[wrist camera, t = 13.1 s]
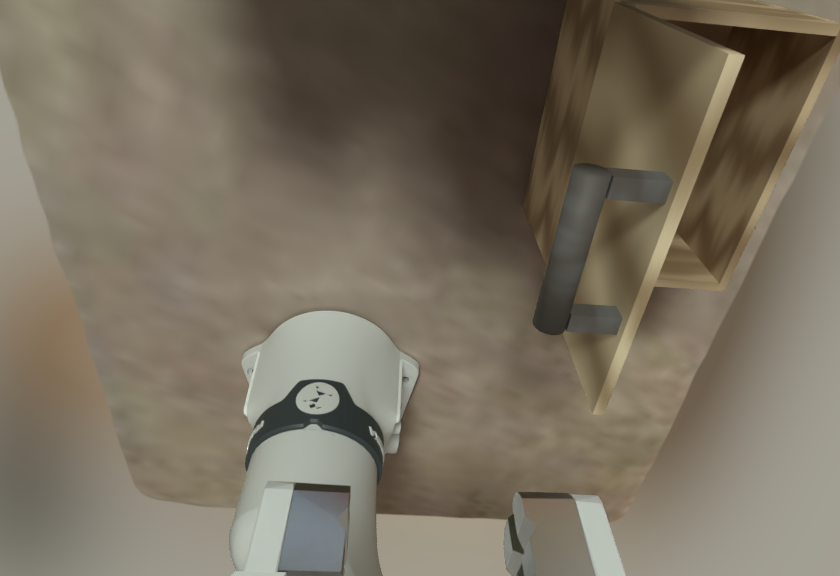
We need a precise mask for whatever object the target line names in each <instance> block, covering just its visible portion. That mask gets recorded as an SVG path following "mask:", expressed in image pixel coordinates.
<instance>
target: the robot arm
mask: <svg viewBox="0 0 840 576" xmlns="http://www.w3.org/2000/svg"><path fill="white" fill-rule="evenodd" d="M242 367H243V370H244V372H245V375H246V378H247V380H248V383H249V389H248V393H247V397H246V401H245V406H244V415H246V416H247V418H248V421H249V424H250V426H251V428H252V429H253V432H252V434H251V436H250V439H249V442H248V446H247V455H246V462H245V467H246V471H247V473H246V477H245V480H244V484H243V487H242V491H241V494H240V498H239V501H238V505H237V508H236V512H235V515H234V519H233V523H232V526H231V529H230V534H229V548H230V553H231V557H232V560H233V564H234V566H235V569H236V570H235V571H234V572H233V573H232V574H231V575H230V576H382V573H381V569H380V564H379V559H378V553H377V538H376V489H377V485H378V484H379V481H380V479H381V475H382V470H383V466H384V456H385V455H386V454H387V453H391V454H394V453H396V452H397V449H398V445H399V433H400V430H401V418H402V416H403V413H404V411H405V408H406V405H407V403H408V400H409V398H410V395H411V393H412V390H413V388H414V385H415V383H416V380H417V378H418V375H419V364H418V362H417V361H415V360H414V359H413V358H411V357H410V356H408V355H406V354H404V353H403V352H401V351H399V350H398V349H397V347H396V346H395V345H394V344H393V342H392V341H391V340H390V338H389V337H388V336H387V335H386V334H385V333H384V332H383V331H382V330H381V329H380V328H378V327H377V326H376V325H374V324H373V323H371V322H369V321H367V320H365V319H363V318H361V317H358V316H356V315H353V314H349V313H344V312H338V311H315V312H309V313H305V314H301V315H298V316H296V317H293V318H291V319H289V320H287V321H286V322H284V323H283V324H281V325H280V326H279V327H278V328H277V329H276V330H275V331H274V332H273V333H272V334H271V335H270V337H269V338H268V339H267V340H266V341H265V342H264V343H262V344H260V345H258V346H255V347H253V348H251V349H249V350H248V351H246V352H245V353H244V354H243V358H242ZM403 377H408V378H403ZM512 507H513V513H514V514H512V515H511V516H509V517H508V518H507V522H506V526H505V533H504V553H505V563H506V569H507V571H508V572H509V573H510V574H511V576H626V573H625V570H624V567H623V564H622V561H621V558H620V555H619V552H618V549H617V546H616V543H615V540H614V537H613V534H612V531H611V528H610V525H609V522H608V519H607V516H606V513H605V510H604V507H603V504H602V501H601V500H600V498H599V497H598V496H596V495H583V494H568V493H541V492H517V493H516V494H515V495H514V498H513V501H512Z"/></svg>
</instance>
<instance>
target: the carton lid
mask: <svg viewBox="0 0 840 576" xmlns="http://www.w3.org/2000/svg"><path fill="white" fill-rule="evenodd" d="M744 57H745V55H743V54H741V53H739V52H736V51H734V50H732V49H729V48H727V47H725V46H722V45H720V44H718V43H716V42H713V41H711V40H709V39H706V38H704V37H702V36H700V35H697V34H695V33H693V32H690V31H688V30H686V29H683V28H681V27H679V26H677V25H674V24H672V23H670V22H667V21H665V20H663V19H661V18H658V17H656V16H654V15H651V14H649V13H647V12H644V11H642V10H640V9H638V8H635V7H633V6H631V5H628V4H626V3H620V2H614V5H613V8H612V12H611V16H610V20H609V24H608V28H607V32H606V36H605V40H604V43H603V47H602V51H601V55H600V59H599V63H598V67H597V71H596V75H595V79H594V82H593V86H592V90H591V94H590V98H589V102H588V106H587V110H586V114H585V117H584V121H583V125H582V129H581V133H580V137H579V141H578V145H577V149H576V152H575V156H574V160H573V164H572V168H571V172H570V176H569V180H568V184H567V187H566V191H565V195H564V199H563V203H562V207H561V211H560V215H559V219H558V223H557V226H556V230H555V234H554V238H553V242H552V246H551V250H550V254H549V258H548V261H547V265H546V269H545V273H544V277H543V283H542V287H541V291H540V295H539V299H538V303H537V307H536V311H535V314H534V318H533V325H534V326H535V328H536V329H538V330H539V331H541V332H543V333H545V334H549V335H559V334H561V333H563V336H564V338H565V341H566V344H567V347H568V349H569V352H570V355H571V357H572V360H573V363H574V365H575V368H576V371H577V374H578V376H579V379H580V382H581V384H582V387H583V390H584V393H585V395H586V398H587V401H588V403H589V406H590V409H591V411H592V414H597V415H604V412H605V410H606V407H607V405H608V402H609V400H610V397H611V395H612V392H613V390H614V387H615V385H616V382H617V379H618V377H619V374H620V372H621V369H622V367H623V364H624V362H625V359H626V357H627V354H628V352H629V349H630V347H631V344H632V341H633V339H634V336H635V334H636V331H637V329H638V326H639V324H640V321H641V319H642V316H643V314H644V311H645V308H646V306H647V303H648V301H649V298H650V296H651V293H652V291H653V288H654V286H655V283H656V281H657V278H658V276H659V273H660V270H661V268H662V265H663V263H664V260H665V258H666V255H667V253H668V250H669V248H670V245H671V243H672V240H673V237H674V235H675V232H676V230H677V227H678V225H679V222H680V220H681V217H682V215H683V212H684V210H685V207H686V205H687V202H688V199H689V197H690V194H691V192H692V189H693V187H694V184H695V182H696V179H697V177H698V174H699V172H700V169H701V166H702V164H703V161H704V159H705V156H706V154H707V151H708V149H709V146H710V144H711V141H712V139H713V136H714V134H715V131H716V128H717V126H718V123H719V121H720V118H721V116H722V113H723V111H724V108H725V106H726V103H727V101H728V98H729V95H730V93H731V90H732V88H733V85H734V83H735V80H736V78H737V75H738V73H739V70H740V68H741V65H742V63H743V60H744Z"/></svg>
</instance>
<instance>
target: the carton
mask: <svg viewBox="0 0 840 576" xmlns="http://www.w3.org/2000/svg"><path fill="white" fill-rule="evenodd" d="M614 2H620V3H626V4H628V5H631V6H633V7H635V8H638V9H640V10H642V11H644V12H647V13H649V14H651V15H654V16H656V17H658V18H661V19H663V20H665V21H667V22H670V23H672V24H674V25H677V26H679V27H681V28H683V29H686V30H688V31H690V32H693V33H695V34H697V35H700V36H702V37H704V38H706V39H709V40H711V41H713V42H716V43H718V44H720V45H722V46H725V47H727V48H729V49H732V50H734V51H736V52H739V53H741V54H743V55H745V57H744V60H743V63H742V65H741V68H740V70H739V73H738V75H737V78H736V80H735V83H734V85H733V88H732V90H731V93H730V95H729V98H728V101H727V103H726V106H725V108H724V111H723V113H722V116H721V118H720V121H719V123H718V126H717V128H716V131H715V134H714V136H713V139H712V141H711V144H710V146H709V149H708V151H707V154H706V156H705V159H704V161H703V164H702V166H701V169H700V172H699V174H698V177H697V179H696V182H695V184H694V187H693V189H692V192H691V194H690V197H689V199H688V202H687V205H686V207H685V210H684V212H683V215H682V217H681V220H680V222H679V225H678V227H677V230H676V232H675V235H674V237H673V240H672V243H671V245H670V248H669V250H668V253H667V255H666V258H665V260H664V263H663V265H662V268H661V270H660V273H659V276H658V278H657V281H656V283H655V287H670V288H685V289H700V290H714V291H725V288H726V286H727V284H728V282H729V280H730V278H731V276H732V274H733V272H734V270H735V268H736V266H737V264H738V261H739V259H740V257H741V255H742V253H743V251H744V249H745V247H746V245H747V243H748V241H749V239H750V237H751V235H752V232H753V230H754V228H755V226H756V224H757V222H758V220H759V218H760V216H761V214H762V212H763V210H764V208H765V205H766V203H767V201H768V199H769V197H770V195H771V193H772V191H773V189H774V187H775V185H776V183H777V181H778V178H779V176H780V174H781V172H782V170H783V168H784V166H785V164H786V162H787V160H788V158H789V156H790V154H791V152H792V149H793V147H794V145H795V143H796V141H797V139H798V137H799V135H800V133H801V131H802V129H803V127H804V125H805V122H806V120H807V118H808V116H809V114H810V112H811V110H812V108H813V106H814V104H815V102H816V100H817V98H818V96H819V93H820V91H821V89H822V87H823V85H824V83H825V81H826V79H827V77H828V75H829V73H830V71H831V69H832V66H833V64H834V62H835V60H836V58H837V56H838V54H839V52H840V22H836V21H832V20H828V19H825V18H821V17H817V16H813V15H810V14H806V13H802V12H798V11H795V10H791V9H787V8H783V7H780V6H776V5H772V4H768V3H765V2H761V1H757V0H567V3H566V7H565V12H564V17H563V21H562V26H561V31H560V35H559V40H558V45H557V49H556V54H555V59H554V63H553V68H552V73H551V77H550V82H549V87H548V92H547V96H546V101H545V106H544V110H543V115H542V120H541V124H540V129H539V134H538V138H537V143H536V148H535V152H534V157H533V162H532V166H531V171H530V176H529V180H528V185H527V190H526V194H525V199H524V204H523V207H524V210H525V213H526V215H527V218H528V220H529V223H530V226H531V228H532V231H533V233H534V236H535V239H536V241H537V244H538V246H539V249H540V251H541V254H542V257H543V259H544V262H545V264H546V265H547V261H548V258H549V254H550V250H551V246H552V242H553V238H554V234H555V230H556V226H557V223H558V219H559V215H560V211H561V207H562V203H563V199H564V195H565V191H566V187H567V184H568V180H569V176H570V172H571V168H572V164H573V160H574V156H575V152H576V149H577V145H578V141H579V137H580V133H581V129H582V125H583V121H584V117H585V114H586V110H587V106H588V102H589V98H590V94H591V90H592V86H593V82H594V79H595V75H596V71H597V67H598V63H599V59H600V55H601V51H602V47H603V43H604V40H605V36H606V32H607V28H608V24H609V20H610V16H611V12H612V8H613V5H614Z"/></svg>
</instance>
